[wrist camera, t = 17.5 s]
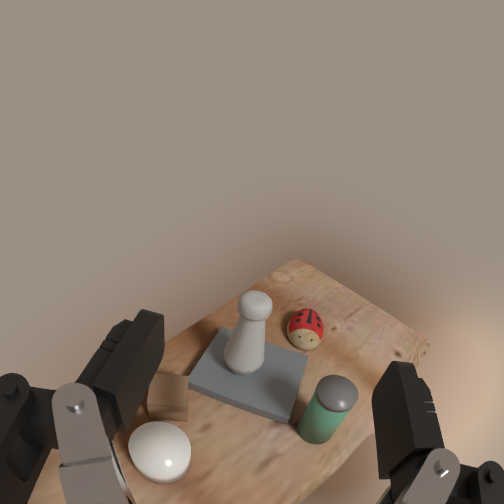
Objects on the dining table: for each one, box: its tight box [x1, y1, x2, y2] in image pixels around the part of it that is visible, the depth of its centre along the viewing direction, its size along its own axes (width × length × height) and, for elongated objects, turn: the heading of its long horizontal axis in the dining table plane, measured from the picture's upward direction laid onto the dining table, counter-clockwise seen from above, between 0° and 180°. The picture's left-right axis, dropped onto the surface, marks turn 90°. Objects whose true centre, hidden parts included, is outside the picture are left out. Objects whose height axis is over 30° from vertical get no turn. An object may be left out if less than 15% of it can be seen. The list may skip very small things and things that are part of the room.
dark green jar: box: [297, 375, 358, 444], centre depth 36 cm, size 5×5×9 cm
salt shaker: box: [224, 290, 272, 376], centre depth 43 cm, size 6×6×13 cm
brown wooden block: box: [147, 373, 189, 422], centre depth 38 cm, size 5×5×4 cm
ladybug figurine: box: [287, 309, 323, 350], centre depth 56 cm, size 7×10×4 cm
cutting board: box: [188, 327, 308, 424], centre depth 46 cm, size 15×13×2 cm
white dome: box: [128, 421, 191, 484], centre depth 30 cm, size 7×7×4 cm
